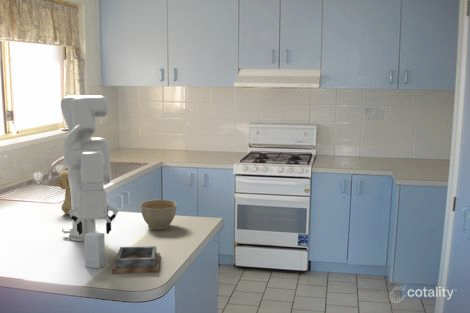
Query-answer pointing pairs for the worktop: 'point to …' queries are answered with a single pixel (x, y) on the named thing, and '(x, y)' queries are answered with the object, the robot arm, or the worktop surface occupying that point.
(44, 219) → the worktop surface
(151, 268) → the socket stand
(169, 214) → the planter bowl
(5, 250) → the worktop surface
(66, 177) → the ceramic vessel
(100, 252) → the skincare box
